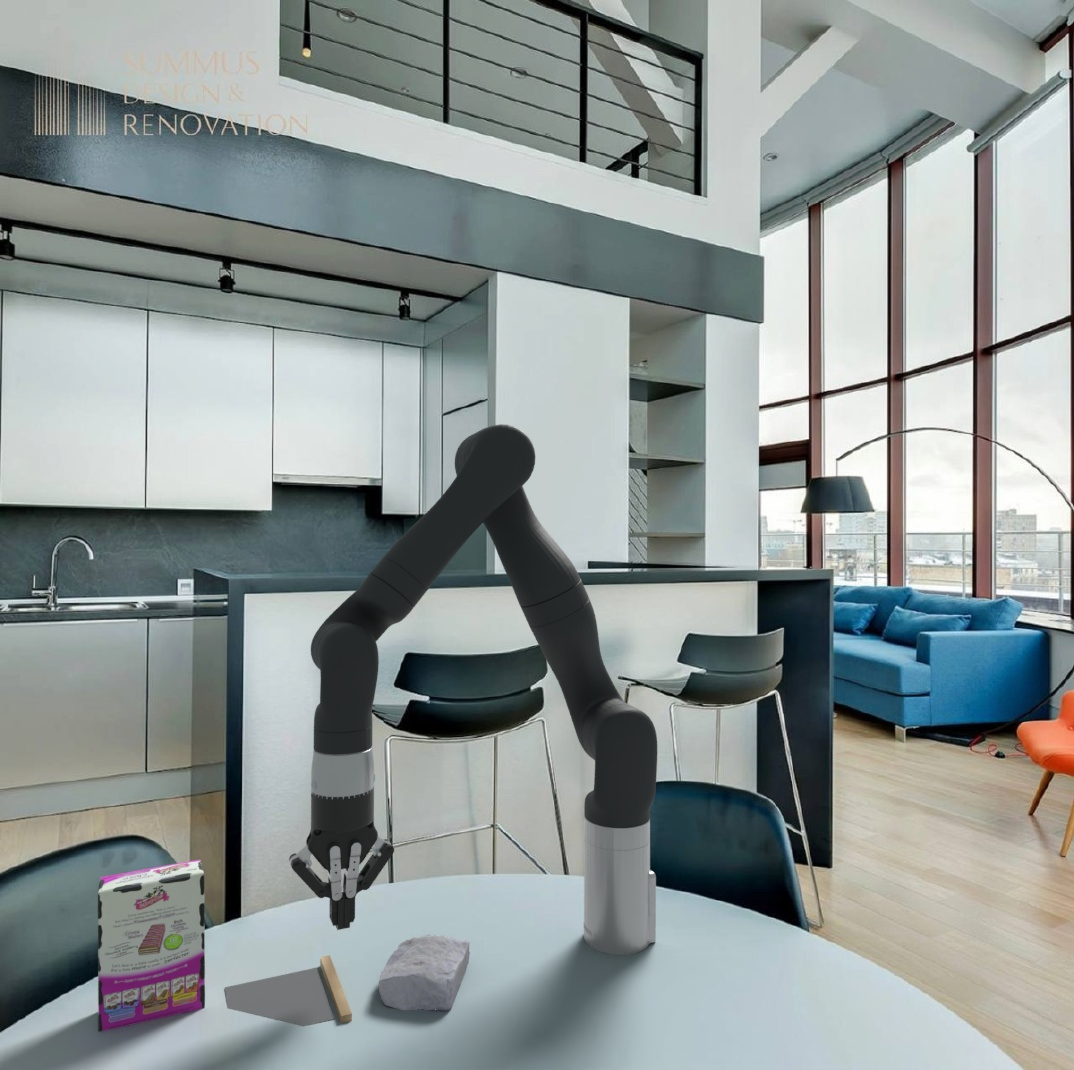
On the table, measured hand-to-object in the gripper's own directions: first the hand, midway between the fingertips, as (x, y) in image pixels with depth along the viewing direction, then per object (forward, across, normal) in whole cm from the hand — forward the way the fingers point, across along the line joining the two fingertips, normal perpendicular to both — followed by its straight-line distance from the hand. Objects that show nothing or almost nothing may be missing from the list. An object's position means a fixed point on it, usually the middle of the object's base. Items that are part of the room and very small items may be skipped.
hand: (341, 926), depth 97 cm
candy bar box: (+8, +21, -4) cm, 23 cm away
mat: (+8, +8, 0) cm, 11 cm away
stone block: (+7, -5, 0) cm, 9 cm away
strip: (+8, +1, 0) cm, 8 cm away
